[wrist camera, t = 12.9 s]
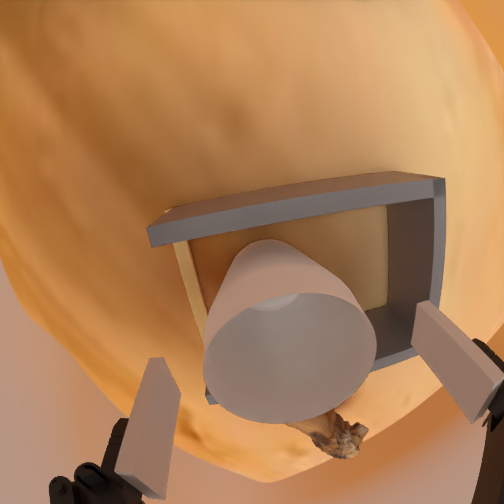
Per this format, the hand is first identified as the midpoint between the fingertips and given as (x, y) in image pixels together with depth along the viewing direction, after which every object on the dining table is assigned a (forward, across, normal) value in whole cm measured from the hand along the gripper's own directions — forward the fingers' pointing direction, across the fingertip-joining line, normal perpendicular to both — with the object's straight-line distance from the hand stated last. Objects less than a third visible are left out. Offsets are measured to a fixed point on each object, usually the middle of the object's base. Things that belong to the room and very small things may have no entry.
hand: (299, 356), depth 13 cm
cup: (+12, 0, -1) cm, 12 cm away
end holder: (+11, +2, -1) cm, 12 cm away
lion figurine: (+12, +2, -15) cm, 19 cm away
